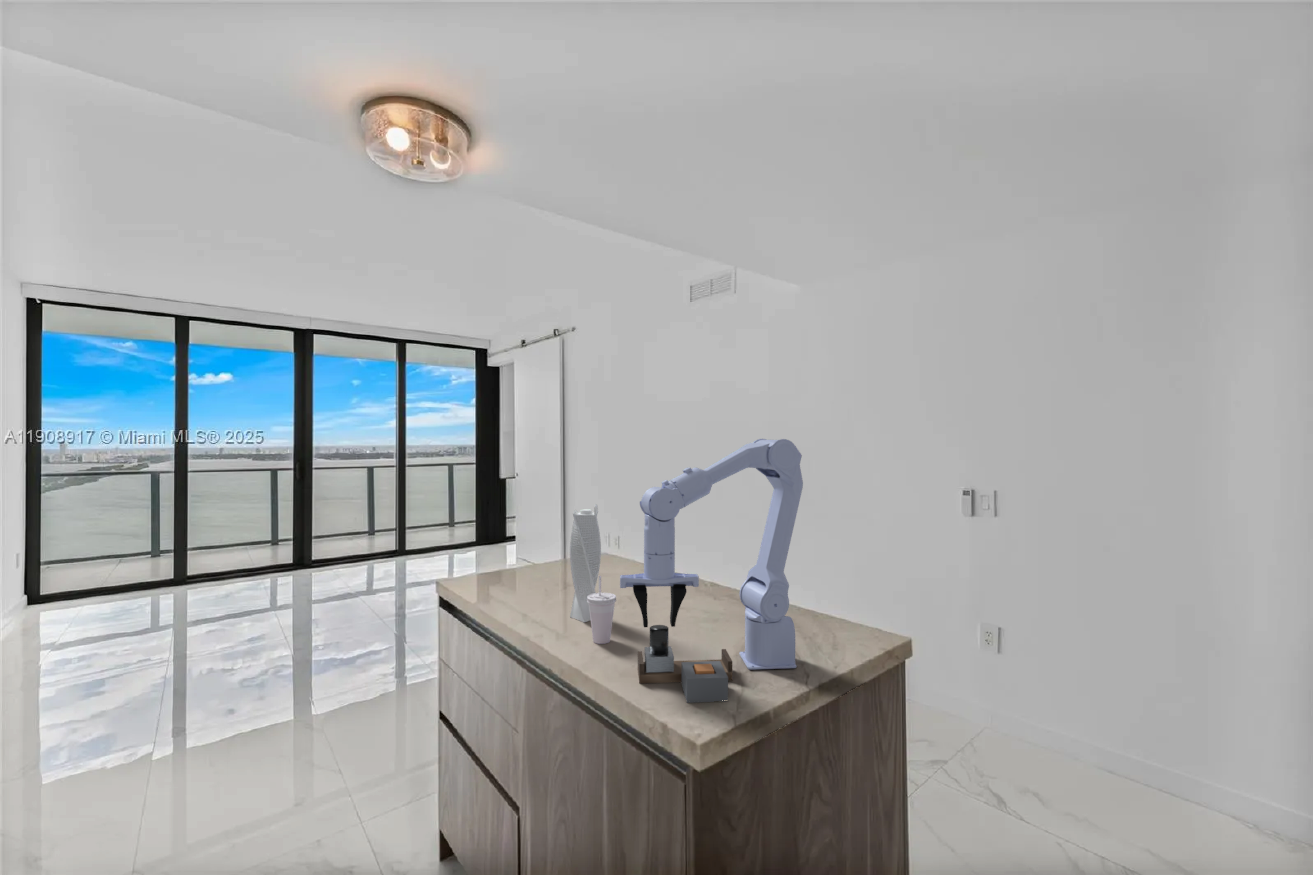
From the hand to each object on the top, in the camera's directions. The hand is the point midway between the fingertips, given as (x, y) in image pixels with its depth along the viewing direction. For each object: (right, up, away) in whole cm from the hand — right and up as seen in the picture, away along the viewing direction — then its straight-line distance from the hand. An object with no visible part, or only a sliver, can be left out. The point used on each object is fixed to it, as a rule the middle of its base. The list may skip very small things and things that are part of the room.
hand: (659, 625), depth 106 cm
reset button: (+8, -9, -7) cm, 13 cm away
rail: (+5, -9, 0) cm, 11 cm away
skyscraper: (-18, -9, +34) cm, 39 cm away
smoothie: (-12, -10, +18) cm, 24 cm away
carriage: (0, -8, 0) cm, 8 cm away
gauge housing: (+8, -10, -7) cm, 14 cm away
